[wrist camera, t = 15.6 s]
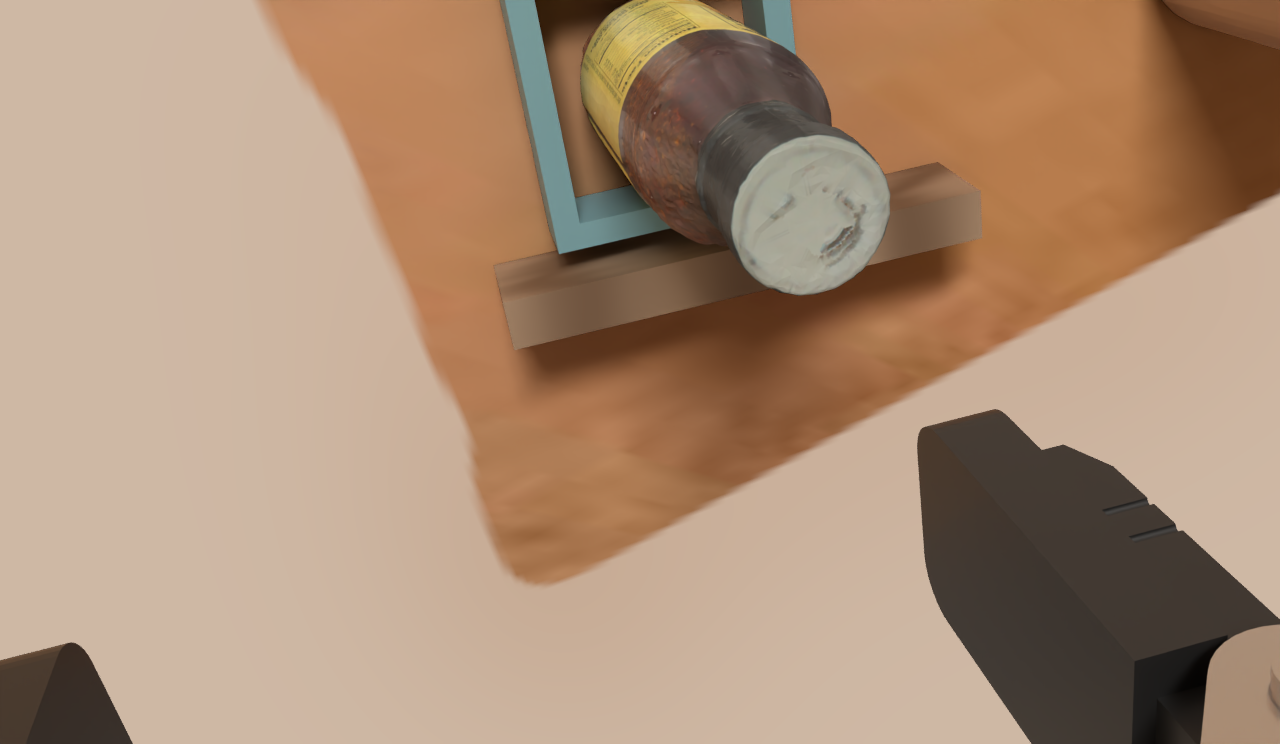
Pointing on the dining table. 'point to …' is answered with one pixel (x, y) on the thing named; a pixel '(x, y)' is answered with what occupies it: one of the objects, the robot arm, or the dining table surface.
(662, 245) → the walnut rail
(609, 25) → the sauce bottle
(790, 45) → the square collar
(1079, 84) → the dining table surface
